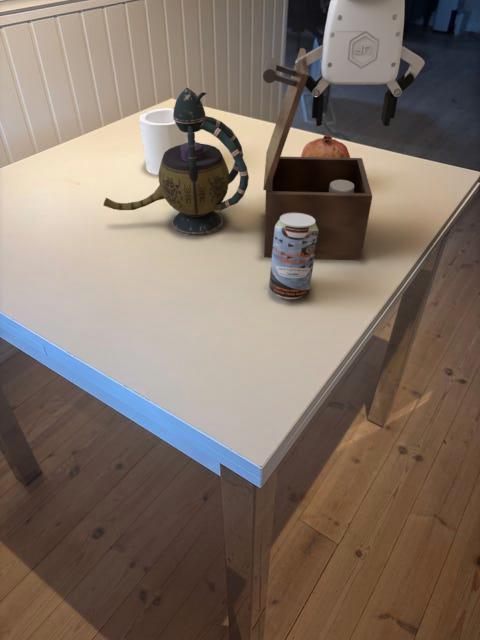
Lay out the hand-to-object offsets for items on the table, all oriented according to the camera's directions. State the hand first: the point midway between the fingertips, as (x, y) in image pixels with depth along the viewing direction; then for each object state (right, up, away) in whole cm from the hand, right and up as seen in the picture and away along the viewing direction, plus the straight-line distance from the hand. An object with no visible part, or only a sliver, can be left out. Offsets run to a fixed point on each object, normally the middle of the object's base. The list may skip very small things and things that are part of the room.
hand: (351, 123), depth 72 cm
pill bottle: (0, -14, +13) cm, 19 cm away
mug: (-32, +6, +37) cm, 49 cm away
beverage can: (-9, -25, +2) cm, 26 cm away
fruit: (0, -2, +28) cm, 28 cm away
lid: (-9, +1, +1) cm, 10 cm away
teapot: (-28, -12, +17) cm, 35 cm away
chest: (-4, -14, +14) cm, 20 cm away
